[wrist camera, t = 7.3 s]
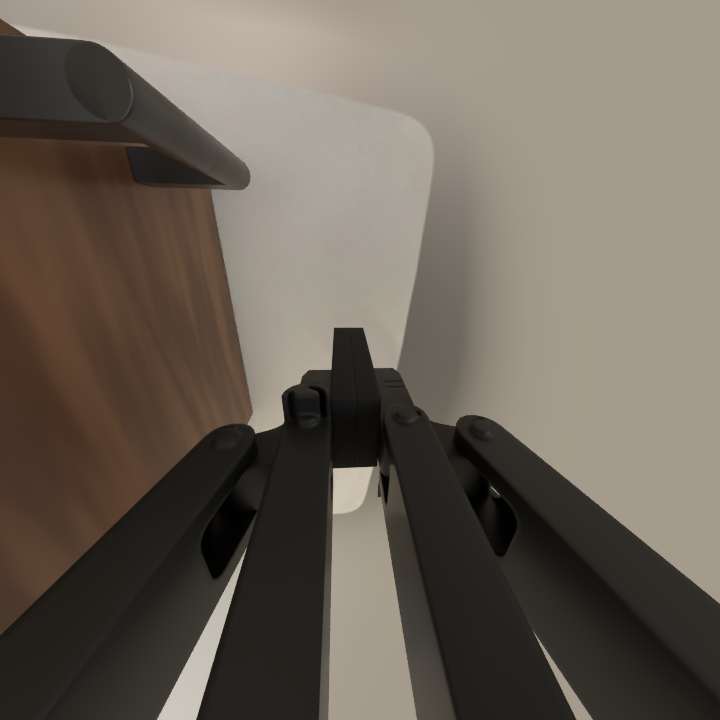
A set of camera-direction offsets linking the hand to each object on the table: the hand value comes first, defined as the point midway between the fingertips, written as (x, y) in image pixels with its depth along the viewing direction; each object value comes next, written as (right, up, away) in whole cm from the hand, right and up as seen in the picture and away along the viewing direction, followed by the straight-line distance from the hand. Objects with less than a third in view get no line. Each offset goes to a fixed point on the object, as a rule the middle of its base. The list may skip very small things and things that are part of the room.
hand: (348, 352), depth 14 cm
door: (-10, +5, +13) cm, 18 cm away
